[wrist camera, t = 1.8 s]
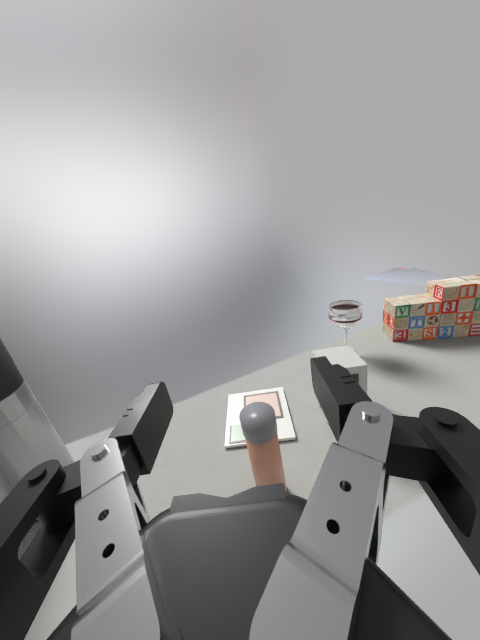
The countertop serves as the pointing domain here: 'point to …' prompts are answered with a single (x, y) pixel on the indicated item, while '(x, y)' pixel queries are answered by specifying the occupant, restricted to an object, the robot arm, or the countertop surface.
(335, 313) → the wineglass
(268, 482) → the terracotta marker
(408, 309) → the stack of blocks
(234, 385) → the countertop surface
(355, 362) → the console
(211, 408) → the countertop surface
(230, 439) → the white square board
